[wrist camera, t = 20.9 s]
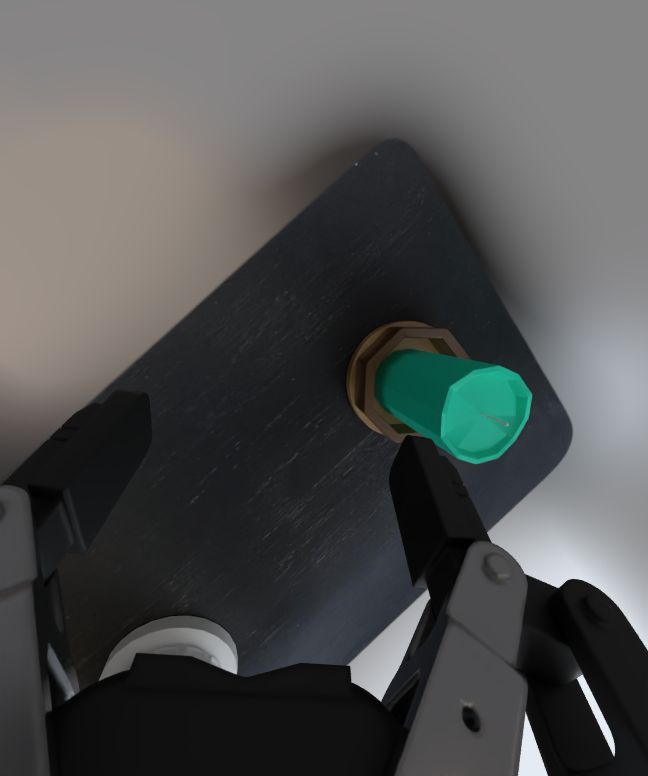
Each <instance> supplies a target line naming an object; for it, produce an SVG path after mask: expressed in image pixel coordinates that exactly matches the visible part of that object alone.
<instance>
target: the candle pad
mask: <svg viewBox="0 0 648 776" xmlns="http://www.w3.org/2000/svg"><path fill="white" fill-rule="evenodd" d="M410 348H411V349H416V350H421V351H426V352H431V353H437V354H442V355H447V356H452V357H457V358H462V359H468V360H471V359H470V358H469V356H468V355H467V354H466V353H465V351H464V350H463V349H462V347H461V346H460V345H459V343H458V342H457V341H456V340H455V338H454V337H453V336H452V334H451V333H450V332H449V330H448V329H446V328H434V327H431V326H429V325H427V324H424V323H421V322H416V321H396V322H391V323H388V324H385V325H383V326H381V327H379V328H377V329H375V330H374V331H372V332H371V333H370V334H369V335H368V336H366V337H365V338H364V339H363V341H362V342H361V343H360V344H359V345H358V347H357V348H356V350H355V352H354V354H353V356H352V358H351V360H350V363H349V366H348V371H347V378H346V388H347V395H348V398H349V402H350V404H351V406H352V409H353V410H354V412H355V413H356V415H357V416H358V417H359V418H360V420H361V421H363V422H364V423H365V424H366V425H367V426H368V427H369V428H371V429H373V430H374V431H376V432H378V433H380V434H383V435H385V436H386V437H388V438H389V439H390V440H391V441H392V442H394V443H400V442H403V440H404V438H405V437H406V436H407V435H413V436H419V437H424V436H423V435H421V434H420V433H418V432H417V431H415V430H414V429H412V428H411V427H409V426H408V425H406V424H405V423H403V422H402V421H400V420H399V419H397V418H396V417H394V416H393V415H391V414H390V413H388V412H387V411H385V410H384V408H383V407H382V406H381V404H380V403H379V402H378V401H377V399H376V398H375V393H374V387H375V374H376V372H377V369H378V367H379V364H380V363H381V362H382V361H383V360H384V359H385V358H387V357H388V356H389V355H390V354H391V353H393V352H394V351H399V350H405V349H410Z"/></svg>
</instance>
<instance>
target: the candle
mask: <svg viewBox="0 0 648 776" xmlns="http://www.w3.org/2000/svg"><path fill="white" fill-rule="evenodd" d="M374 393H375V398H376V399H377V401H378V402H379V403H380V404H381V406H382V407H383V408H384V410H385V411H387V412H388V413H390V414H391V415H393V416H394V417H396V418H397V419H399V420H400V421H402V422H403V423H405V424H406V425H408V426H409V427H411V428H412V429H414V430H415V431H417V432H418V433H420V434H421V435H423V436H424V437H426V438H431V439H432V440H433V442H434V443H435V444H436V445H438V446H439V447H441V448H442V449H444V450H445V451H447V452H448V453H450V454H451V455H453V456H454V457H456V458H458V459H461V460H464V461H467V462H471V463H474V464H479V463H483V462H486V461H490V460H493V459H497V458H499V457H500V456H501V455H502V454H503V453H504V452H505V451H506V450H507V449H508V448H509V447H510V446H511V445H512V444H513V443H514V442H515V441H516V439H517V437H518V435H519V434H520V432H521V430H522V429H523V427H524V425H525V423H526V422H527V420H528V418H529V412H530V406H531V400H532V394H531V392H530V391H529V389H528V388H527V386H526V385H525V383H524V382H523V380H522V379H521V377H520V376H519V374H516V373H514V372H512V371H510V370H508V369H506V368H503V367H501V366H499V365H494V364H488V363H483V362H478V361H473V360H468V359H462V358H457V357H452V356H447V355H442V354H437V353H431V352H426V351H421V350H416V349H411V348H410V349H405V350H399V351H394V352H393V353H391V354H390V355H389V356H388V357H387V358H385V359H384V360H383V361H382V362H381V363H380V364H379V367H378V369H377V372H376V374H375V387H374Z"/></svg>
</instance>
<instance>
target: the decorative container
mask: <svg viewBox="0 0 648 776" xmlns="http://www.w3.org/2000/svg"><path fill="white" fill-rule="evenodd" d="M136 653H150V654H166V655H182V656H193V657H195V658H198V659H200V660H202V661H205V662H207V663H210V664H212V665H215V666H217V667H219V668H222V669H224V670H227V671H229V672H231V673H234V674H237V659H238V657H237V651H236V645H235V643H234V642H233V640H232V638H231V636H230V634H229V633H228V632H226V631H225V630H224V629H223V628H222V627H221V626H220V625H218V624H216V623H214V622H212V621H209V620H207V619H205V618H199V617H194V616H170V617H166V618H162V619H158V620H154V621H151V622H149V623H147V624H145V625H143V626H141V627H138V628H136V629H135V630H134V631H132V632H131V633H130V634H128V635H127V636H126V637H124V638H123V639H122V640H121V641H120V642H119V643H118V645H117V646H116V647H115V648H114V649H113V651H112V652H111V653H110V656H109V658H108V660H107V662H106V665H105V667H104V670H103V672H102V674H101V677H100V679H99V681H100V680H102V679H104V678H106V677H109V676H111V675H114V674H117V673H119V672H122V671H126V670H130V667H131V665H132V662H133V659H134V657H135V654H136Z"/></svg>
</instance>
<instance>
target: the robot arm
mask: <svg viewBox="0 0 648 776" xmlns="http://www.w3.org/2000/svg"><path fill="white" fill-rule="evenodd" d="M151 440H152V425H151V413H150V401H149V396H148V394H147V393H142V392H136V391H130V390H123V389H117V390H116V391H114V392H113V393H112V395H111V396H110V397H109V398H108V399H107V400H106V401H105V402H104V403H103V404H98V403H93V404H91V405H90V406H88V407H86V408H84V409H82V410H80V411H78V412H76V413H75V414H74V415H73V416H72V417H71V418H69V419H68V420H67V421H66V422H65V423H64V424H63V425H62V428H61V429H60V428H59V429H58V430H57V431H56V432H55V433H54V434H53V435H52V436H51V439H50V440H47V441H46V442H45V443H44V444H43V445H42V446H41V447H40V448H39V449H38V450H37V451H36V452H35V453H34V454H33V455H32V456H31V457H29V458H28V459H27V460H26V461H25V462H24V463H23V464H22V465H21V466H20V467H19V468H18V469H17V470H16V471H15V472H14V473H13V474H12V475H11V476H10V477H9V478H8V479H7V480H6V481H5V482H4V483H3V484H2V485H0V776H518V770H519V761H520V754H521V745H522V736H523V728H524V720H525V711H526V714H527V717H528V720H529V723H530V725H531V728H532V731H533V733H534V737H535V740H536V743H537V745H538V748H539V751H540V754H541V757H542V760H543V763H544V766H545V768H546V771H547V774H548V776H648V650H647V649H646V647H645V646H644V644H643V643H642V641H641V640H640V638H639V636H638V635H637V633H636V632H635V630H634V629H633V627H632V626H631V624H630V623H629V621H628V620H627V618H626V617H625V615H624V614H623V612H622V611H621V610H620V608H619V607H618V606H617V605H616V604H615V603H614V602H613V601H612V600H611V599H610V598H609V597H608V596H607V595H606V594H605V593H603V592H602V591H601V590H599V589H598V588H596V587H595V586H593V585H591V584H589V583H587V582H585V581H582V580H578V579H570V580H568V581H566V582H565V583H564V584H563V585H562V586H561V587H560V588H556V587H554V586H552V585H549V584H547V583H545V582H542V581H540V580H538V579H535V578H533V577H531V576H528V575H526V574H524V572H523V570H522V568H521V566H520V565H519V564H518V562H517V561H516V560H515V559H514V558H513V557H512V556H511V555H510V554H509V553H508V552H507V551H505V550H504V549H503V548H501V547H499V546H498V545H495V544H493V543H492V542H491V540H490V538H489V536H488V534H487V532H486V530H485V528H484V526H483V524H482V521H481V519H480V517H479V515H478V513H477V511H476V509H475V507H474V505H473V503H472V500H471V498H469V497H468V495H469V494H468V492H467V490H466V488H465V486H463V482H462V480H461V477H460V475H459V473H458V471H457V469H456V468H455V467H454V466H453V465H452V464H451V463H450V461H449V460H448V459H447V458H446V457H445V456H440V455H439V453H438V451H437V449H436V446H435V444H434V442H433V440H432V439H431V438H426V437H419V436H413V435H407V436H406V437H405V438H404V440H403V442H402V444H401V447H400V449H399V451H398V453H397V456H396V458H395V460H394V462H393V465H392V467H391V470H390V475H389V486H390V491H391V495H392V499H393V503H394V508H395V512H396V516H397V520H398V525H399V529H400V533H401V538H402V542H403V546H404V550H405V555H406V559H407V563H408V567H409V572H410V576H411V580H412V585H413V587H417V588H428V591H429V594H430V600H429V601H428V603H427V604H426V607H425V609H424V611H423V614H422V616H421V618H420V621H419V623H418V626H417V628H416V630H415V633H414V635H413V638H412V640H411V642H410V644H409V647H408V649H407V651H406V654H405V656H404V658H403V661H402V663H401V665H400V667H399V669H398V671H397V673H396V675H395V676H394V678H393V680H392V681H391V683H390V685H389V687H388V689H387V691H386V693H385V695H384V697H383V699H382V701H381V702H380V701H379V700H378V699H377V698H376V697H374V696H373V695H372V694H370V693H369V692H368V691H366V690H365V689H363V688H361V687H360V686H358V685H356V684H354V683H352V682H351V671H350V666H342V665H326V664H310V663H299V664H295V665H291V666H288V667H284V668H280V669H276V670H273V671H269V672H265V673H262V674H258V675H254V676H250V677H242V676H239V675H236V674H234V673H231V672H229V671H227V670H224V669H222V668H219V667H217V666H215V665H212V664H210V663H207V662H205V661H202V660H200V659H198V658H195V657H193V656H182V655H166V654H150V653H136V654H135V657H134V659H133V662H132V665H131V667H130V670H126V671H122V672H119V673H117V674H114V675H111V676H109V677H106V678H104V679H102V680H100V681H98V682H96V683H94V684H92V685H90V686H88V687H87V688H85V689H83V690H82V691H79V685H78V680H77V675H76V670H75V666H74V662H73V659H72V655H71V651H70V647H69V641H68V635H67V628H66V622H65V615H64V608H63V601H62V595H61V588H60V581H59V575H58V570H57V566H58V564H59V563H60V561H61V560H62V558H63V557H64V555H65V554H66V552H68V553H78V554H85V553H86V551H87V550H88V548H89V546H90V545H91V543H92V541H93V540H94V538H95V537H96V535H97V533H98V532H99V530H100V528H101V527H102V525H103V524H104V522H105V520H106V519H107V517H108V516H109V514H110V512H111V511H112V509H113V507H114V506H115V504H116V503H117V501H118V499H119V498H120V496H121V494H122V493H123V491H124V490H125V488H126V486H127V485H128V483H129V481H130V480H131V478H132V477H133V475H134V473H135V472H136V470H137V468H138V467H139V465H140V464H141V462H142V460H143V459H144V457H145V455H146V454H147V452H148V450H149V447H150V444H151ZM581 675H583V676H584V678H585V680H586V682H587V684H588V686H589V688H590V690H591V692H592V694H593V696H594V698H595V700H596V702H597V704H598V706H599V708H600V710H601V712H602V714H603V716H604V718H605V720H606V722H607V724H608V726H609V728H610V730H611V733H612V736H613V739H614V743H615V756H613V754H612V752H611V749H610V747H609V745H608V743H607V741H606V739H605V737H604V735H603V733H602V730H601V729H600V726H599V724H598V722H597V720H596V718H595V716H594V714H593V712H592V709H591V707H590V705H589V703H588V701H587V699H586V697H585V695H584V693H583V691H582V689H581V686H580V684H579V682H578V680H577V678H578V677H579V676H581Z"/></svg>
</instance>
